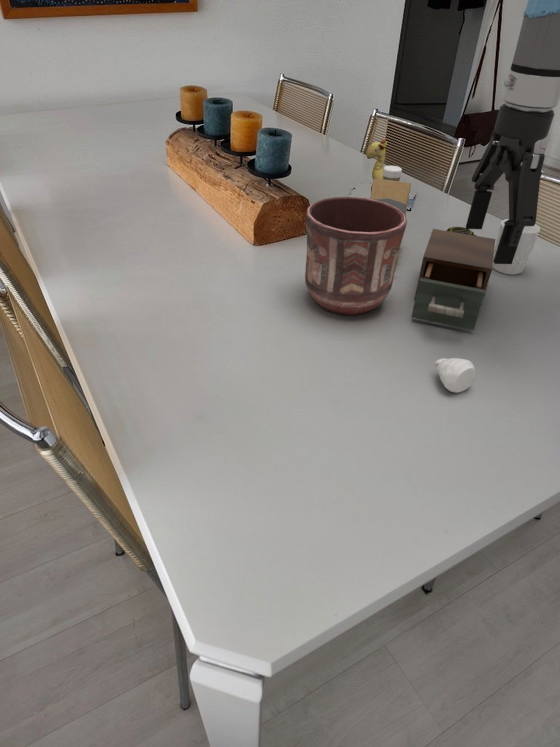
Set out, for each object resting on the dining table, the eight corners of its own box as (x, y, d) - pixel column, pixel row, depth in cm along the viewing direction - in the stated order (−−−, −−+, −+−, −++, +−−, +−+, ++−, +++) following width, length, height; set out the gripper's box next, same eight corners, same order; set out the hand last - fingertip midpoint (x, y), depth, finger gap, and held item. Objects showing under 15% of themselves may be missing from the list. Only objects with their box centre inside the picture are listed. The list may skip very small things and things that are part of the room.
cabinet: (478, 313, 106) (492, 269, 100) (413, 300, 109) (423, 256, 103) (483, 281, 117) (495, 239, 111) (424, 270, 120) (433, 228, 114)
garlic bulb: (447, 368, 91) (455, 341, 88) (473, 388, 87) (482, 361, 84) (422, 377, 89) (429, 350, 86) (447, 398, 85) (455, 370, 82)
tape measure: (450, 253, 127) (454, 238, 125) (438, 240, 133) (441, 226, 130) (477, 251, 129) (481, 236, 126) (463, 239, 134) (467, 225, 132)
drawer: (472, 342, 96) (483, 304, 91) (407, 328, 99) (415, 290, 94) (478, 296, 109) (488, 261, 105) (421, 285, 112) (429, 250, 107)
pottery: (324, 332, 99) (334, 238, 88) (287, 287, 111) (291, 201, 100) (407, 315, 104) (426, 226, 93) (363, 274, 117) (375, 191, 106)
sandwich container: (355, 268, 119) (364, 201, 110) (364, 240, 131) (373, 177, 122) (395, 273, 118) (407, 206, 109) (400, 245, 130) (411, 182, 121)
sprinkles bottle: (397, 221, 141) (406, 168, 133) (384, 225, 139) (392, 171, 131) (384, 215, 144) (393, 163, 136) (372, 219, 142) (379, 166, 134)
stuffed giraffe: (357, 183, 164) (365, 127, 153) (416, 193, 160) (429, 137, 150) (345, 203, 152) (353, 144, 142) (409, 215, 148) (422, 155, 138)
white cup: (523, 279, 118) (538, 235, 112) (486, 271, 120) (499, 228, 114) (526, 265, 124) (541, 222, 118) (491, 257, 126) (503, 215, 120)
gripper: (473, 87, 87) (443, 215, 100) (540, 127, 68) (492, 279, 81) (518, 89, 88) (483, 216, 101) (598, 129, 68) (541, 280, 81)
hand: (487, 244), depth 91 cm, fingers open, 13 cm apart
